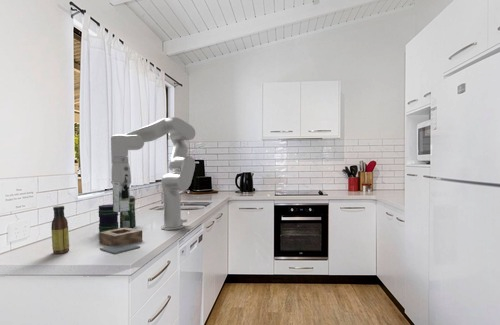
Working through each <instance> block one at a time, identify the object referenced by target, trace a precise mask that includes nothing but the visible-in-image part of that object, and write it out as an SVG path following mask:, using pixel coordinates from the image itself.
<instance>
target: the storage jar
mask: <svg viewBox="0 0 500 325" xmlns="http://www.w3.org/2000/svg"><path fill="white" fill-rule="evenodd" d="M118 216H119V212H114V211H113V203H111V204H102V205H98V217H99V222H98V223H99V224H98V231H99V232H104V231H109V230H115V229H119V228H120V225H119V218H118ZM99 232H98V233H99Z"/></svg>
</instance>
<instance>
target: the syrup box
mask: <svg viewBox="0 0 500 325" xmlns="http://www.w3.org/2000/svg"><path fill="white" fill-rule="evenodd" d="M124 183H126V182H124ZM124 186H125V185H124ZM130 191H131V190H130V187H129V190H128V196H129V198H125V199H122V185H121V184H120V182H113V185H112V204H113V211H114V212H118V213H120V212H125V211H130V196H131V195H130Z"/></svg>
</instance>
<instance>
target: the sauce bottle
mask: <svg viewBox="0 0 500 325" xmlns="http://www.w3.org/2000/svg"><path fill="white" fill-rule="evenodd" d="M52 208H53V219H52V222H51V243H52V244H51V246H52V248H51V249H52V252H53V254H55V255H60V254H65V253H68V252H70V237H69V236H70V235H69V225H68V224H69V223H68V219H67V218H66V217H65V206H64V205H55V206H53V207H52Z"/></svg>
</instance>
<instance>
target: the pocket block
mask: <svg viewBox="0 0 500 325" xmlns="http://www.w3.org/2000/svg"><path fill="white" fill-rule="evenodd" d="M98 234H99V236H98V237H99V244H103V245H105V246H112V245H114V246H117V245H122V244H126V243H129V244H135V243H139V242H143V230H141V229H136V228H133V227H131V228H127V227H125V228H120V227H119V228H118V229H115V230H109V231H104V232H98Z"/></svg>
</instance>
